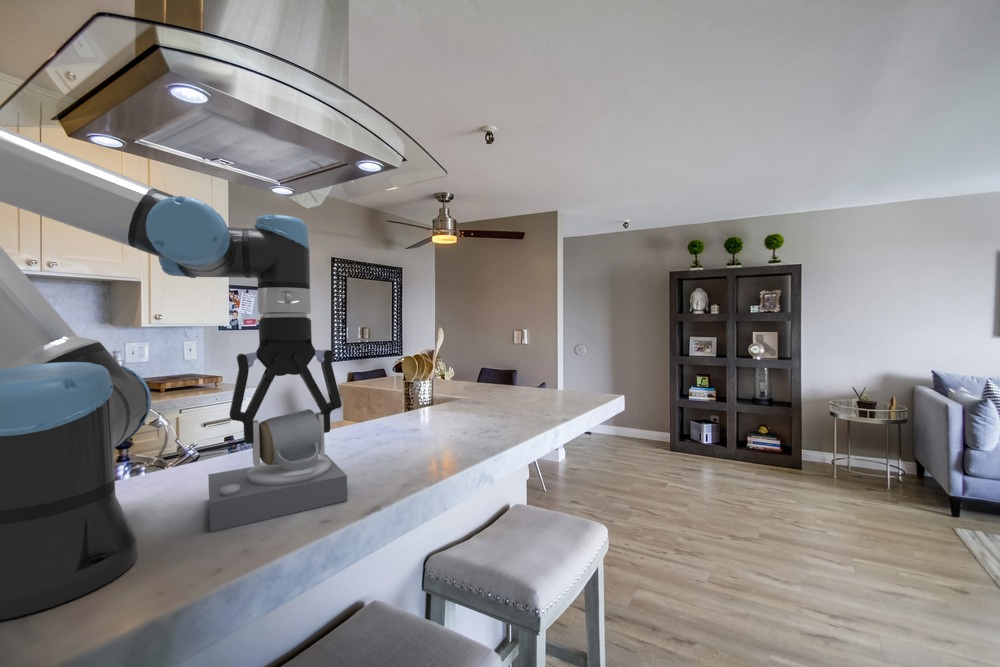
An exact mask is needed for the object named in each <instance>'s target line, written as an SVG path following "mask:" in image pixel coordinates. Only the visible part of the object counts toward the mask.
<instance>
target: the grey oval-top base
mask: <svg viewBox="0 0 1000 667" xmlns="http://www.w3.org/2000/svg"><path fill="white" fill-rule="evenodd" d="M310 458H312V457H308V458H304V459H299V460H294V461H291V462H301V461H305V460H308V459H310ZM207 476H208V477H207V478H208V500H209V501H208V502H209V503H208V506H209V525H210V529H209V530H210V533H213V532H218V531H223V530H226V529H230V528H235V527H240V526H244V525H247V524H252V523H257V522H261V521H262V522H263V521H266V520H269V519H274V518H279V517H283V516H287V515H288V516H289V515H292V514H297V513H300V511H301V512H305V511H304V510H306V511H310V510H313V508H314V509H318V508H317V507H319V508H322V507H321V506H323V507H326V506H325V505H327V506H330V505H329V504H332V505H334V504H333V503H336V504H340V503H339V502H341V503H344V502H343V501H345V502H348V501H347V500H349V498H348V475H347V474H346V473H345V471H343V470H342V469H341V468H340V467H339V466H338V465H337V464H336V463H335V462H334V461H333V459H331V457H330V456H328V455H327V453H325V454H324V455H319V454H318V459H317V462H316V463H315V464H314V465H313V466H311V467H309V468H307V469H303V470H296V471H295V470H288V469H285V468H283V467H282V466H280V465H279V464H276V465H267V464H265V463H264V462H260V465H259V466H254V465H253V466H251V467H244V468H239V469H234V470H233V469H232V470H227V471H221V472H215V473H209V474H207ZM309 509H310V510H309ZM296 512H297V513H296Z"/></svg>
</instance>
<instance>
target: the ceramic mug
mask: <svg viewBox="0 0 1000 667" xmlns="http://www.w3.org/2000/svg"><path fill="white" fill-rule="evenodd" d="M315 413H316V412H314V411H313V410H312V409H311V408H310V409H309V408H308V409H302V410H300V411H295V412H289V413H287V414H282V415H277V416H274V417H270V418H267V419H265V420H263V421H260V422H259V442H260V461H261V463H263V462H264V463H265V464H267V465H276V464H279V465H280V466H282V467H283V468H285V469H288V470H295V471H296V470H303V469H307V468H309V467H311V466H313V465H314V464H315V463H316V462H317V459H318V456H319V453H320V451H321V447H322V434H321V428H320V424H319V421H318V419H317V417H316V415H315ZM308 457H312V458H310V459H308V460H305V461H301V462H291V461H294V460H299V459H304V458H308Z"/></svg>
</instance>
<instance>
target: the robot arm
mask: <svg viewBox="0 0 1000 667" xmlns="http://www.w3.org/2000/svg"><path fill="white" fill-rule="evenodd" d="M0 203H3V204H7V205H9V206H12V207H15V208H18V209H20V210H24V211H27V212H29V213H32V214H36V215H38V216H41V217H44V218H46V219H49V220H52V221H53V220H54V221H56V222H59V223H62V224H63V225H64V224H65V225H67V226H69V227H73V228H75V229H79V230H82V231H85V232H87V233H91V234H93V235H96V236H99V237H102V238H104V239H108V240H111V241H114V242H117V243H120V244H122V245H125V246H127V247H131V248H134V249H137V250H138V251H141V252H144V253H147V254H150V255H153V256H156V257H158V261H159V265H160V266H161V269H162V271H163V272H164V274H167V275H168V276H172V277H185V278H190V279H196V278H244V279H251V278H252V279H257V307H258V308H257V310H258V312H257V313H258V314H259V315H262V317H260V318H259V319H258V337H259V338H258V339H259V341H258V342H259V343H258V348H257V350H256V351H255V352H249V353H239V354H237V356H236V362H237V367H238V371H237V375H236V381H235V385H234V390H233V394H232V395H233V396H232V400H231V405H230V409H229V410H230V411H229V418H230V419H231V420H232V421H236V422H241V423H243V441H244V442H245V444H246V445H250V444H251V446H252V464H253V467H254V466H259V465H260V463H261V458H260V442H259V423H260V422H259V421H258V419H255V418H256V415H257V413H258V411H259V410H260V407H261V405H262V403H263V401H264V399H265V397H266V395H267V393H268V390H269V388H270V386H271V384H272V383H273V381H274V379H275V377H282V376H286V375H292V376H300V378H301V379H302V381H303V383H304V384H305V386H306V388H307V390H308V391H309V393H310V395H311V397H312V398H313V400H314V402H315V403H316V405H317V408H318V410H319V412H314V413H315V415H316V417H317V419H318V421H319V424H320V428H321V434H322V447H321V451H320V453H319V454H318V456H319V455H325V454H326V453H325V452H326V451H325V450H326V449H325V448H326V447H325V434H326V433H330V432H331V414H332V412H333V411H334V410H336V409H337V410H338V409H341V407H342V400H341V396H340V393H339V388H338V384H337V381H336V376H335V372H334V367H333V365H332V364H333V355H334V353H333V351H332V350H330V349H315V347H314V346H313V341H312V340H313V339H312V336H313V335H312V319H310V317H308V315H309V314H311V312H312V307H311V280H310V279H311V277H310V276H311V275H310V274H311V272H310V271H311V269H310V266H311V265H310V263H311V262H310V244H309V242H310V241H309V230H308V226H307V225H306V223H305V221H304V220H302V219H301V218H298V217H295V216H292V215H285V214H265V215H260V216H257V217H256V219H255V224H254V227H251V228H250V227H249V228H246V227H245V228H243V227H242V228H240V227H230V226H228V225H227V223H226V221H225V220H224V218H223V216H222V215H221V214H220V213H218V212H217V211H216V210H215V209H214V208H213V207H212V206H210V205H208V204H207V203H205V202H204V201H202V200H200V199H197V198H193V197H190V196H180V195H179V196H176V195H173V194H171V193H168V192H166V191H162V190H159V189H157V188H156V187H153V186H150V185H148V184H145V183H143V182H141V181H138V180H135V179H133V178H130V177H128V176H125V175H124V174H121V173H118V172H116V171H113V170H111V169H108V168H106V167H103V166H101V165H98V164H96V163H94V162H91V161H88V160H86V159H83V158H81V157H79V156H76V155H73V154H70V153H69V152H66V151H64V150H61V149H59V148H55V147H53V146H50V145H49V144H46V143H43V142H41V141H39V140H36V139H34V138H31V137H28V136H26V135H23V134H21V133H18V132H16V131H13V130H11V129H9V128H5V127H4V126H1V125H0ZM314 357H316V361H317V362H318V363H320V366H321V370H322V371H321V372H322V374H323V378H324V379H323V380H324V383H325V387H326V391H327V393H328V398H329V401H327V400H326V398H325V396H324V395H323V393H322V391H321V389H320V388H319V386H318V384H317V383H316V380H315V378H314V377H313V375H312V372H311V371H310V369H309V368H308V365H310V363H311V361H312V360H313V358H314ZM255 360H258V361H259V362H260V363H261V364H262V366H264V367H265V370H264V372H263V373H262V376H261V378H260V381H259V383H258V385H257V386H256V388H255V391H254V393H253V396H252V397H251V399H250V401H249V403H248V405H247V407H246V409H245V412H244V411H242V406H243V401H244V397H245V392H246V387H247V382H248V378H249V369H250V368H251V367H253V366H254V362H255ZM151 406H152V396H151V392H150V388H149V385H148V384H147V383H146V381H145V380H144V379H143V378H142V377H141V375H140V374H138V373H137V372H136V371H134V370H132V369H130V368H129V367H127V366H123V365H120V364H119V362H118V361H117V360H116V359H115V358H114V357H113V355H112V354H111V353H110V352H109V351H108V350H107V349H106V347H105V346H104V345H103V344H102V342H100V340H97V339H93V338H92V339H91V338H84V337H81V336H79V335H77V334H76V332H74V330H73V329H72V328H71V326H69V324H68V323H67V322H66V321H65V320H64V319H63V317H62V316H61V315H60V314H59V312H58V311H57V310H56V309H55V308H54V307H53V305H52V304H51V303H50V302H49V301H48V300H47V298H45V297H44V295H43V294H42V293H41V291H40V290H39V289H38V288H37V286H36V285H34V284H33V282H32V281H31V280H30V279H29V278H28V276H27V275H26V274H25V273H24V272H23V270H22V269H21V268H20V267H19V266H18V265H17V263H16V262H15V261H14V260H13V259H12V258H11V257H10V255H9V254H8V253H7V252H6V251H5V249H3V247H2V246H1V245H0V621H3V620H9V619H12V618H17V617H21V616H25V615H30V614H33V613H37V612H40V611H42V610H47V609H49V608H53V607H56V606H58V605H61V604H64V603H67V602H68V601H71V600H75V599H77V598H79V597H82V596H83V595H86V594H89V593H90V592H92V591H95V590H96V589H99V588H100V587H101V588H102V586H105V585H107V584H108V583H110V582H112V581H113V580H115V579H116V578H118V577H120V576H121V575H122V574H124V573H125V572H126V571H127V570H128V569H129V568H130V567H131V566H132V565H133V564H134V563H135V562H136V560H137V557H138V545H137V536H136V533H135V532H134V530H133V527H132V526H131V523H130V522H129V519H128V517H127V515H126V514H125V511H124V510H123V508H122V505H121V504H120V502H119V500H118V497H117V495H116V482H115V481H116V480H115V479H116V478H115V477H116V476H115V473H116V472H115V454H114V452H115V451H114V449H115V448H117V446H121V444H123V443H124V442H126V441H128V440H130V439H131V438H132V437H133V436H135V435H136V434H137V432H138V431H139V430H140V429H141V428H142V427H143V425H144V423H145V421H146V419H147V418H148V415H149V414H150V412H151V411H150V410H151Z"/></svg>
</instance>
